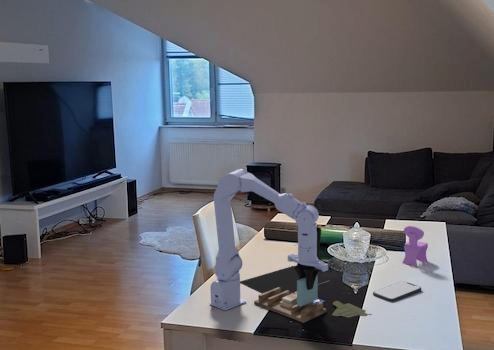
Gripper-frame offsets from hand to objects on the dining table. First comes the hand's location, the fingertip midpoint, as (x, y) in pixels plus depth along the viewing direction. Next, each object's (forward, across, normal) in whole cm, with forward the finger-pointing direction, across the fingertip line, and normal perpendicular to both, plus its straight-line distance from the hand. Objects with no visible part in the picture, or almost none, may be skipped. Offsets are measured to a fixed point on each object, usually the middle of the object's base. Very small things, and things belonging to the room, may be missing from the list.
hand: (307, 288), depth 178 cm
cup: (+8, +34, -43) cm, 55 cm away
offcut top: (+6, +7, 0) cm, 9 cm away
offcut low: (+7, +7, 0) cm, 10 cm away
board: (+5, 0, 0) cm, 5 cm away
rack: (+8, +7, 0) cm, 11 cm away
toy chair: (+9, +1, -66) cm, 67 cm away
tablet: (+9, +24, -16) cm, 30 cm away
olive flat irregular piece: (+9, -10, -9) cm, 16 cm away
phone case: (+9, -11, -34) cm, 37 cm away
